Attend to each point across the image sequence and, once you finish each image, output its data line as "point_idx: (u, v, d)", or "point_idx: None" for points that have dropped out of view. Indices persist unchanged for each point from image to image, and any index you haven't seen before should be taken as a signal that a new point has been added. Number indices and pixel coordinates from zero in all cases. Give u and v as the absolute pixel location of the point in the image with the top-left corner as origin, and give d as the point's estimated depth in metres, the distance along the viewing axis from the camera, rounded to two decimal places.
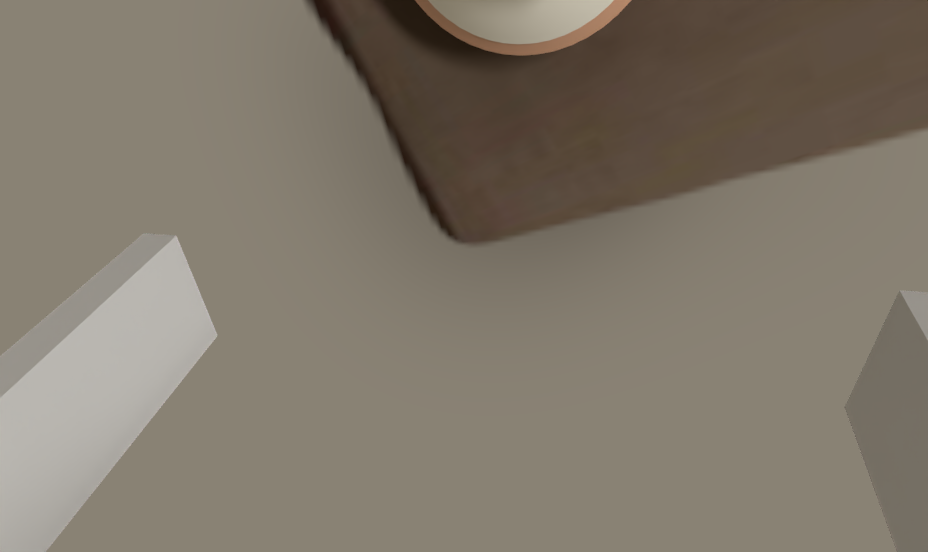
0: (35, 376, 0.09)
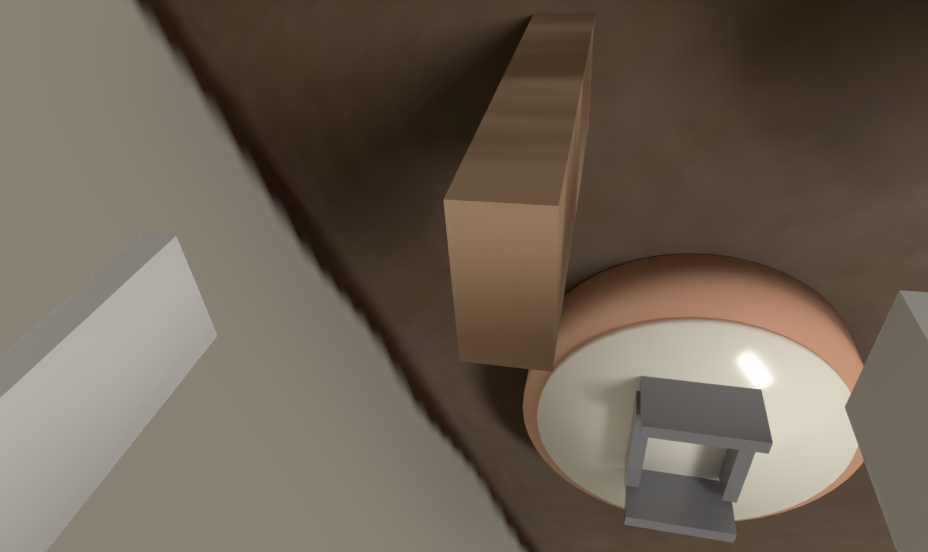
0: (35, 376, 0.09)
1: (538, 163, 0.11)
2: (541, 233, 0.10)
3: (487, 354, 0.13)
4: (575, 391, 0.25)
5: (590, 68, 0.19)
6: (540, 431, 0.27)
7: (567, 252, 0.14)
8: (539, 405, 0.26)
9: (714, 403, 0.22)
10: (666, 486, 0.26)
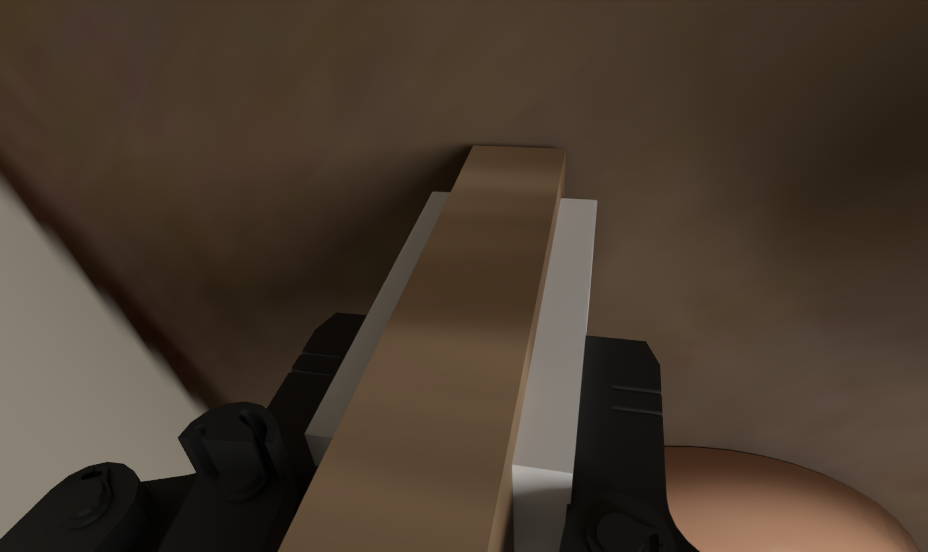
0: None
1: None
2: None
3: None
4: None
5: None
6: None
7: None
8: None
9: None
10: None
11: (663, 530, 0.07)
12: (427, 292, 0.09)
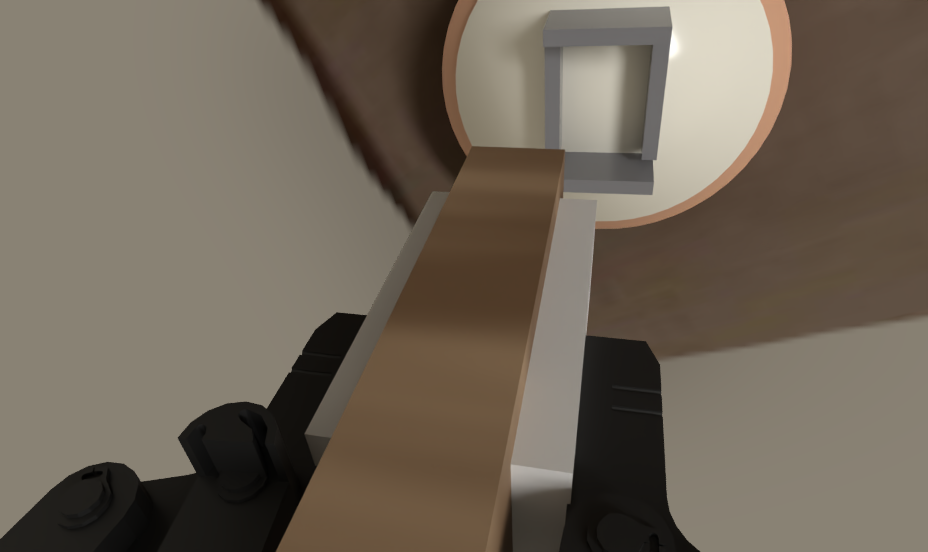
0: None
1: None
2: None
3: None
4: (489, 47, 0.25)
5: None
6: (461, 115, 0.27)
7: None
8: (456, 76, 0.26)
9: (619, 15, 0.22)
10: (588, 159, 0.26)
11: (663, 530, 0.07)
12: (425, 294, 0.09)
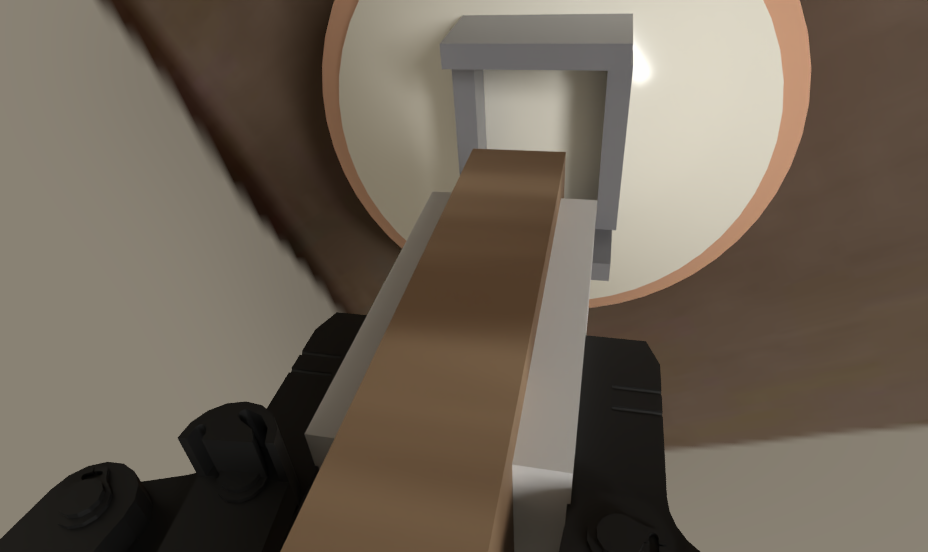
0: None
1: None
2: None
3: None
4: (381, 66, 0.17)
5: None
6: (353, 157, 0.19)
7: None
8: (340, 104, 0.18)
9: (558, 25, 0.15)
10: None
11: (663, 530, 0.07)
12: (427, 297, 0.09)
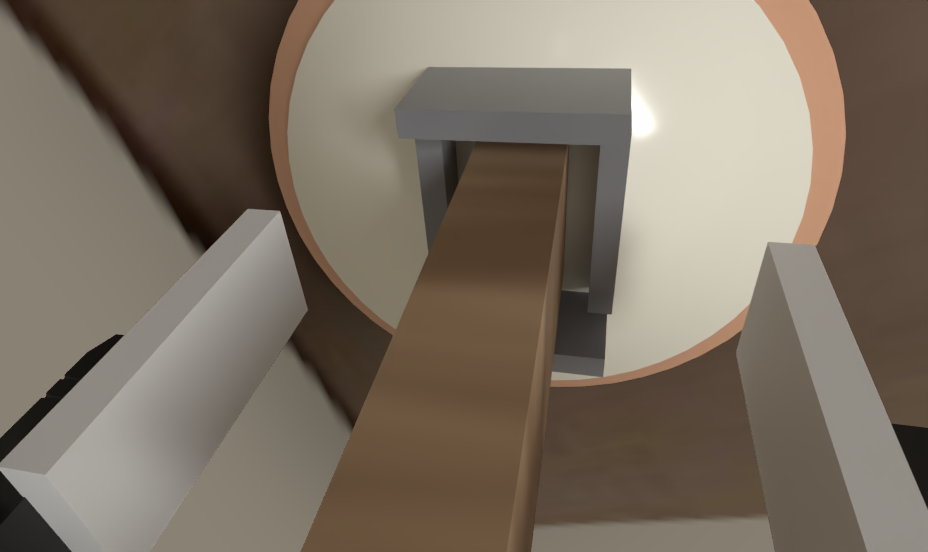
0: (177, 336, 0.10)
1: None
2: None
3: None
4: (335, 122, 0.15)
5: (563, 207, 0.13)
6: (308, 221, 0.17)
7: None
8: (291, 163, 0.16)
9: (540, 83, 0.12)
10: None
11: None
12: (450, 254, 0.10)
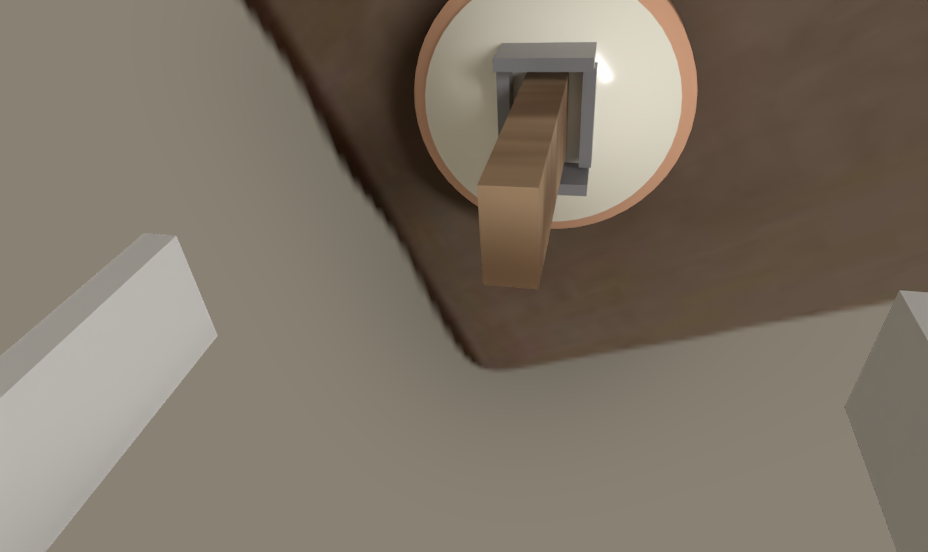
0: (35, 376, 0.09)
1: (528, 166, 0.20)
2: (529, 203, 0.19)
3: (500, 279, 0.21)
4: (452, 72, 0.30)
5: (566, 108, 0.28)
6: (430, 128, 0.32)
7: (548, 223, 0.23)
8: (426, 95, 0.31)
9: (555, 48, 0.27)
10: None
11: None
12: (519, 110, 0.25)
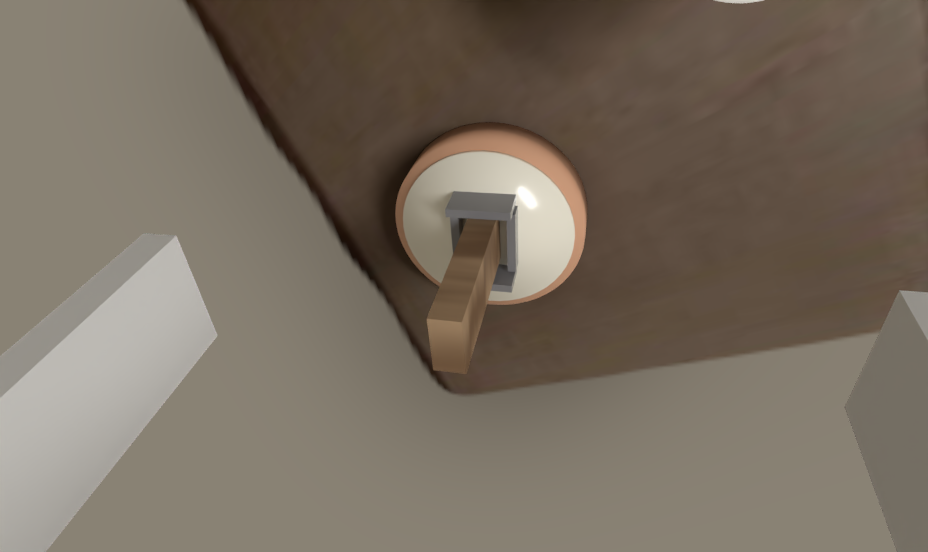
0: (35, 376, 0.09)
1: (458, 303, 0.34)
2: (457, 329, 0.33)
3: (443, 367, 0.35)
4: (421, 206, 0.43)
5: (496, 236, 0.42)
6: (407, 239, 0.45)
7: (476, 327, 0.37)
8: (403, 219, 0.44)
9: (488, 200, 0.41)
10: None
11: None
12: (460, 249, 0.38)
